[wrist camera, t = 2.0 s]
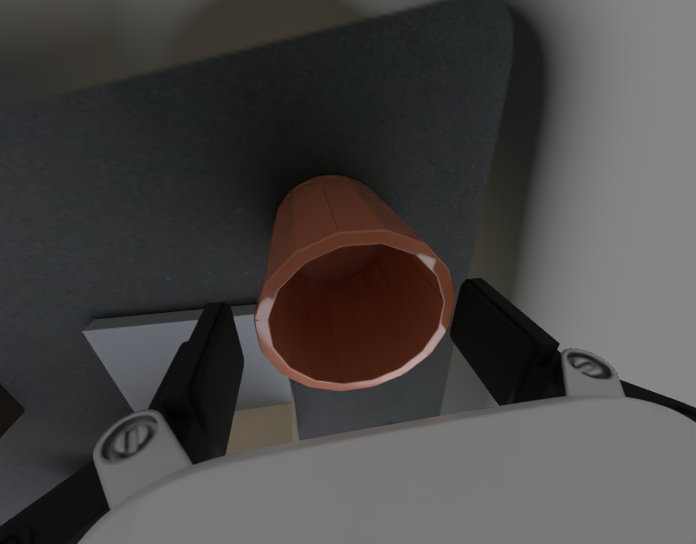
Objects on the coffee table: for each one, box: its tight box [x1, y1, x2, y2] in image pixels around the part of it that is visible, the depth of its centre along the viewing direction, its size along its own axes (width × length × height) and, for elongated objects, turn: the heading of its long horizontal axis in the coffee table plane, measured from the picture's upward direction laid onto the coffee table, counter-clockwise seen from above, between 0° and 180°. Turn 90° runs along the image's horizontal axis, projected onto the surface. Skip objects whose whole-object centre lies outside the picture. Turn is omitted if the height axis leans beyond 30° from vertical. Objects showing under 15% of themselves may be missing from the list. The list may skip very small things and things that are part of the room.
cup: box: [254, 175, 455, 391], centre depth 14 cm, size 7×7×9 cm
